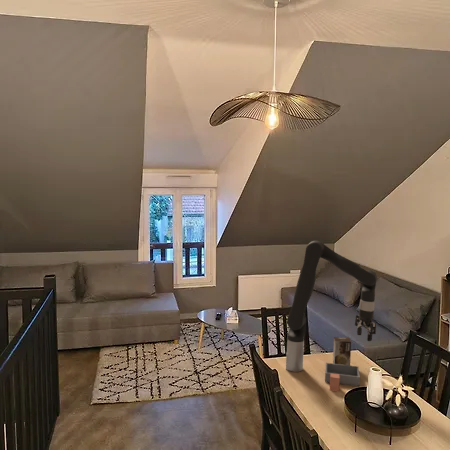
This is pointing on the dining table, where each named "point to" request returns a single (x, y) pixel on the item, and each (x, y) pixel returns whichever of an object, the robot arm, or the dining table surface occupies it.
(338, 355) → the coffee box
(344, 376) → the tote
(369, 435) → the dining table surface
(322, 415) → the dining table surface
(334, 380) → the juice box
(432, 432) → the dining table surface
